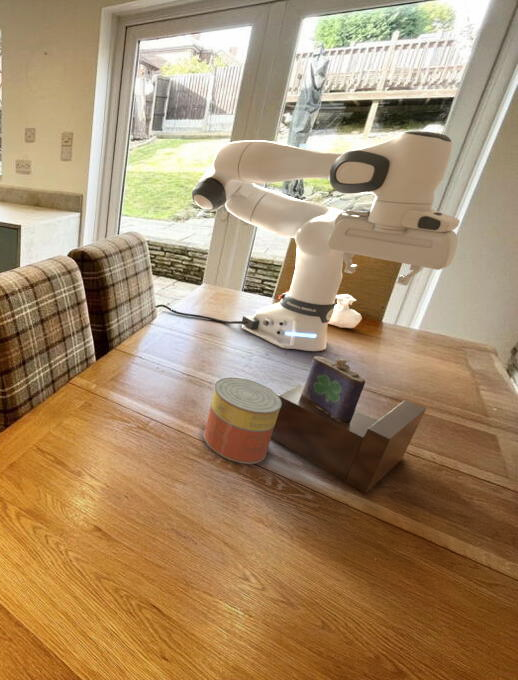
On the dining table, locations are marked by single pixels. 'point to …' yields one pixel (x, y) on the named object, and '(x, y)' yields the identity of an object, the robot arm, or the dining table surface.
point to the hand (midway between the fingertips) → (374, 278)
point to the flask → (333, 388)
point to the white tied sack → (345, 313)
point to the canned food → (241, 420)
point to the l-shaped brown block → (346, 438)
